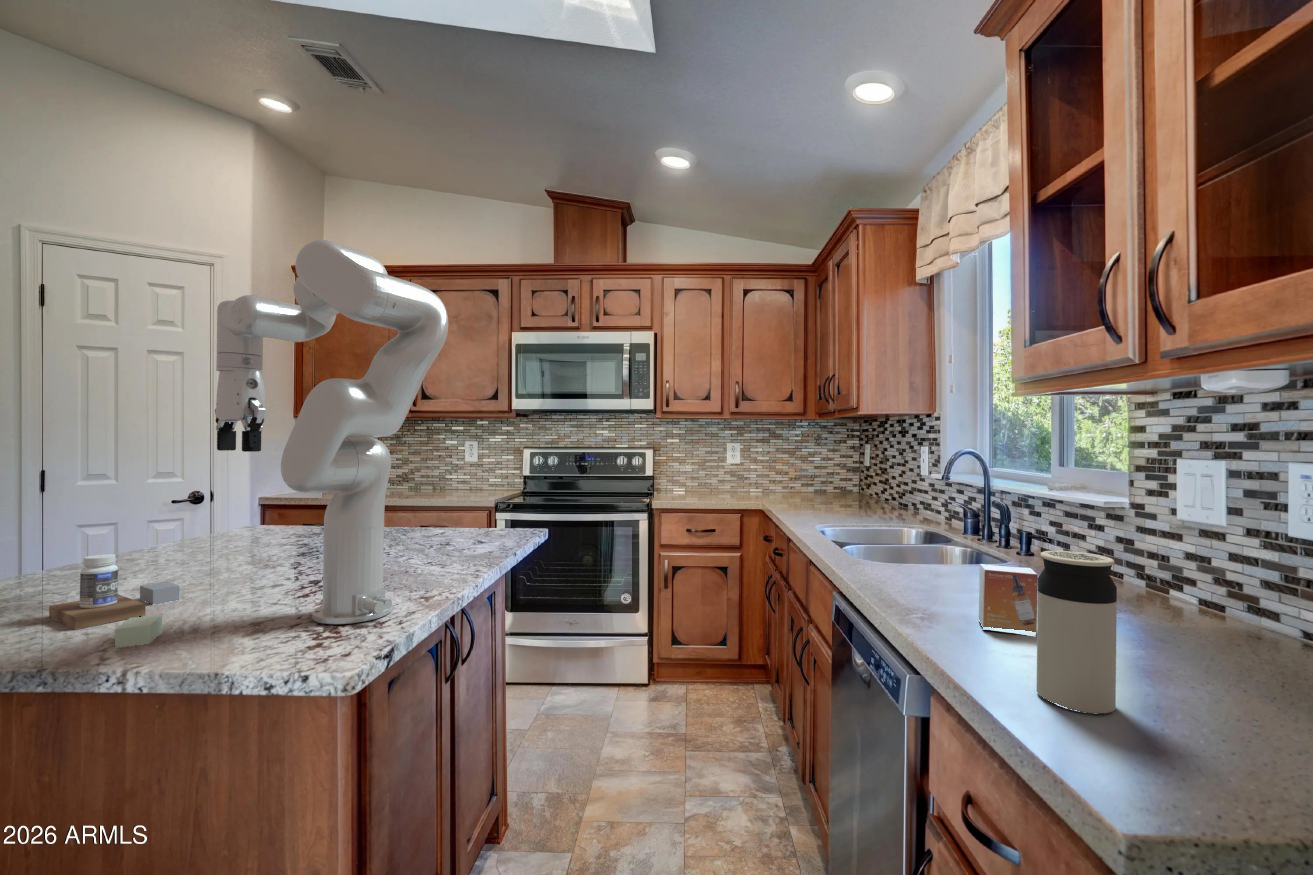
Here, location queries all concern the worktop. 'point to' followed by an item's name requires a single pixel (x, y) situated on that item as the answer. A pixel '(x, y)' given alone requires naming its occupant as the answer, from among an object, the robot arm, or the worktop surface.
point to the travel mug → (1077, 631)
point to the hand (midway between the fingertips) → (238, 450)
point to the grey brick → (159, 592)
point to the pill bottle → (98, 581)
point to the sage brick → (138, 631)
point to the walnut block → (95, 613)
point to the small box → (1008, 597)
